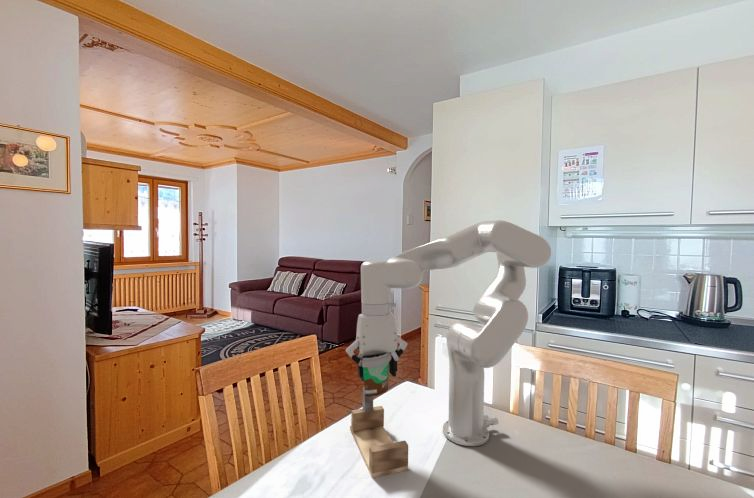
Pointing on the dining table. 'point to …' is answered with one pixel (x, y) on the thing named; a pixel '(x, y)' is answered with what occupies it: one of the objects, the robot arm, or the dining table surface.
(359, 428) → the block
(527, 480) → the dining table surface
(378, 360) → the food container
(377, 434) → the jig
